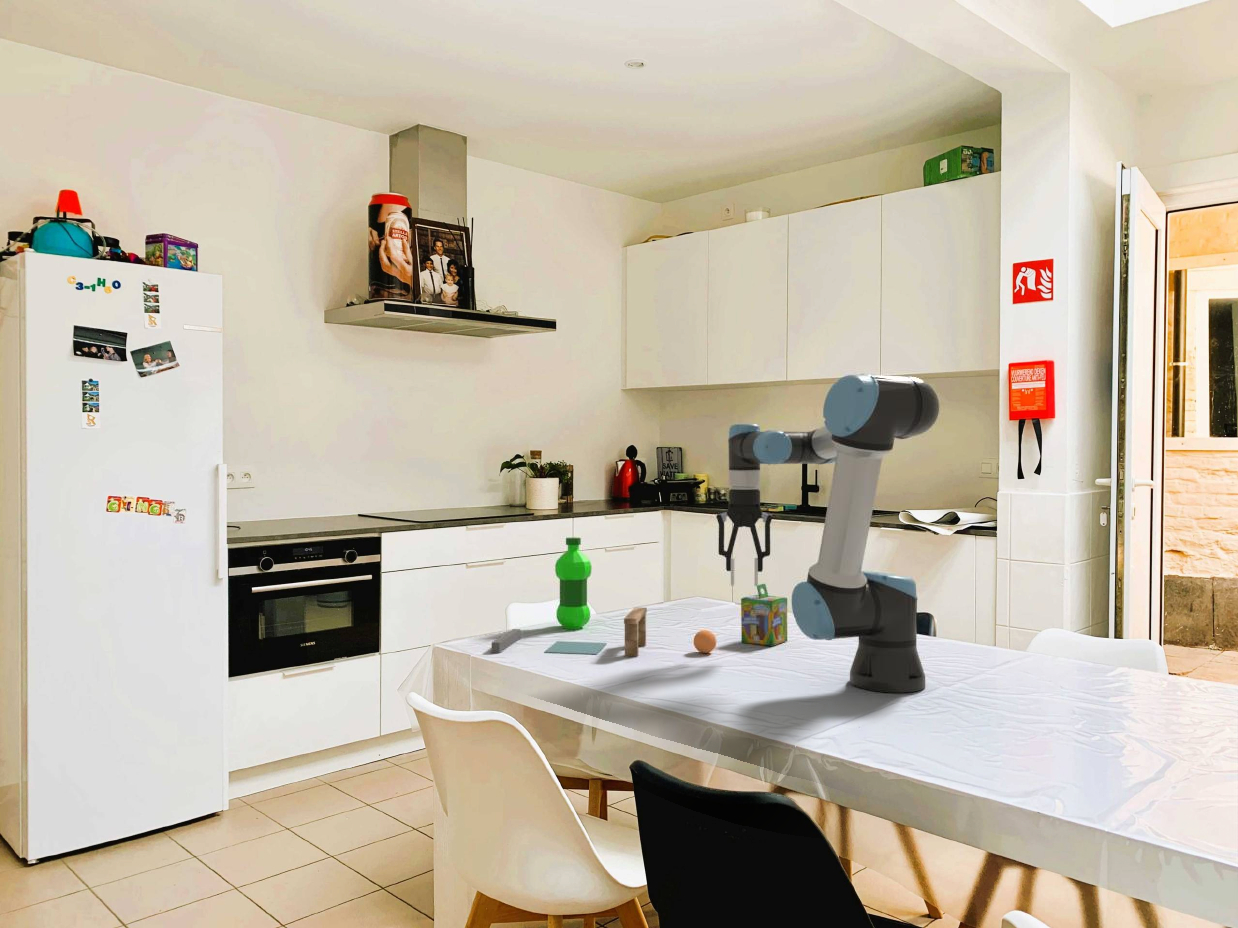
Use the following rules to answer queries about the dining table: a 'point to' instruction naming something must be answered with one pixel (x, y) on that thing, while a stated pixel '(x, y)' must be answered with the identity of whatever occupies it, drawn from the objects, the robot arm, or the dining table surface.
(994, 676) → the dining table surface
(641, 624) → the bridge
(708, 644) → the ball
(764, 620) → the chalk box
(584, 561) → the plastic bottle
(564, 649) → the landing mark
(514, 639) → the grey long bar
